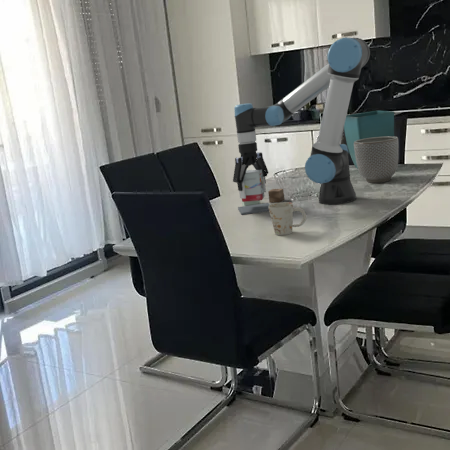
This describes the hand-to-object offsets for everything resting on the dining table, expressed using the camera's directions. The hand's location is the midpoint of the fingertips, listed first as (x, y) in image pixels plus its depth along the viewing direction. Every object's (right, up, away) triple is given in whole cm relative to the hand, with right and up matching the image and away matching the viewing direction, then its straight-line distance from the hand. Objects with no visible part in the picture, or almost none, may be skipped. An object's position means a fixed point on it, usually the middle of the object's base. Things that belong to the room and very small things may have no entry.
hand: (253, 195), depth 259 cm
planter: (+59, +8, +29) cm, 66 cm away
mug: (+11, -15, -42) cm, 46 cm away
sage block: (0, -4, +12) cm, 13 cm away
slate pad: (+1, -6, +1) cm, 6 cm away
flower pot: (+64, +16, +63) cm, 91 cm away
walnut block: (+11, -2, +13) cm, 17 cm away
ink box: (0, -2, +1) cm, 2 cm away
